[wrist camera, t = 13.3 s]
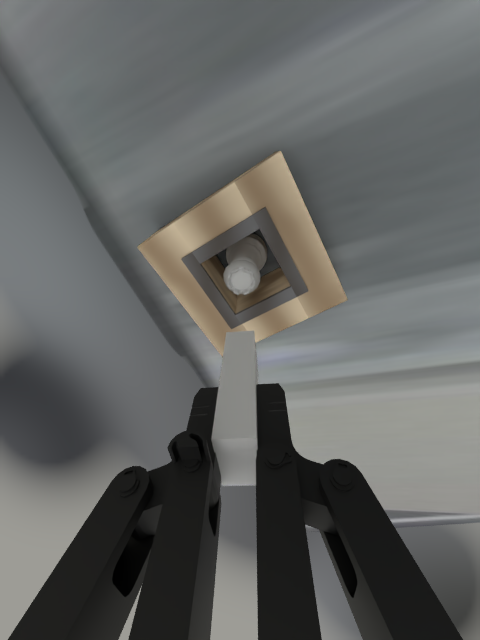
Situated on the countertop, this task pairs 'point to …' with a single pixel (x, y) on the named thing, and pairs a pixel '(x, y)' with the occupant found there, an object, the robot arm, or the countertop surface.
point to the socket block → (230, 227)
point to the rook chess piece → (245, 264)
